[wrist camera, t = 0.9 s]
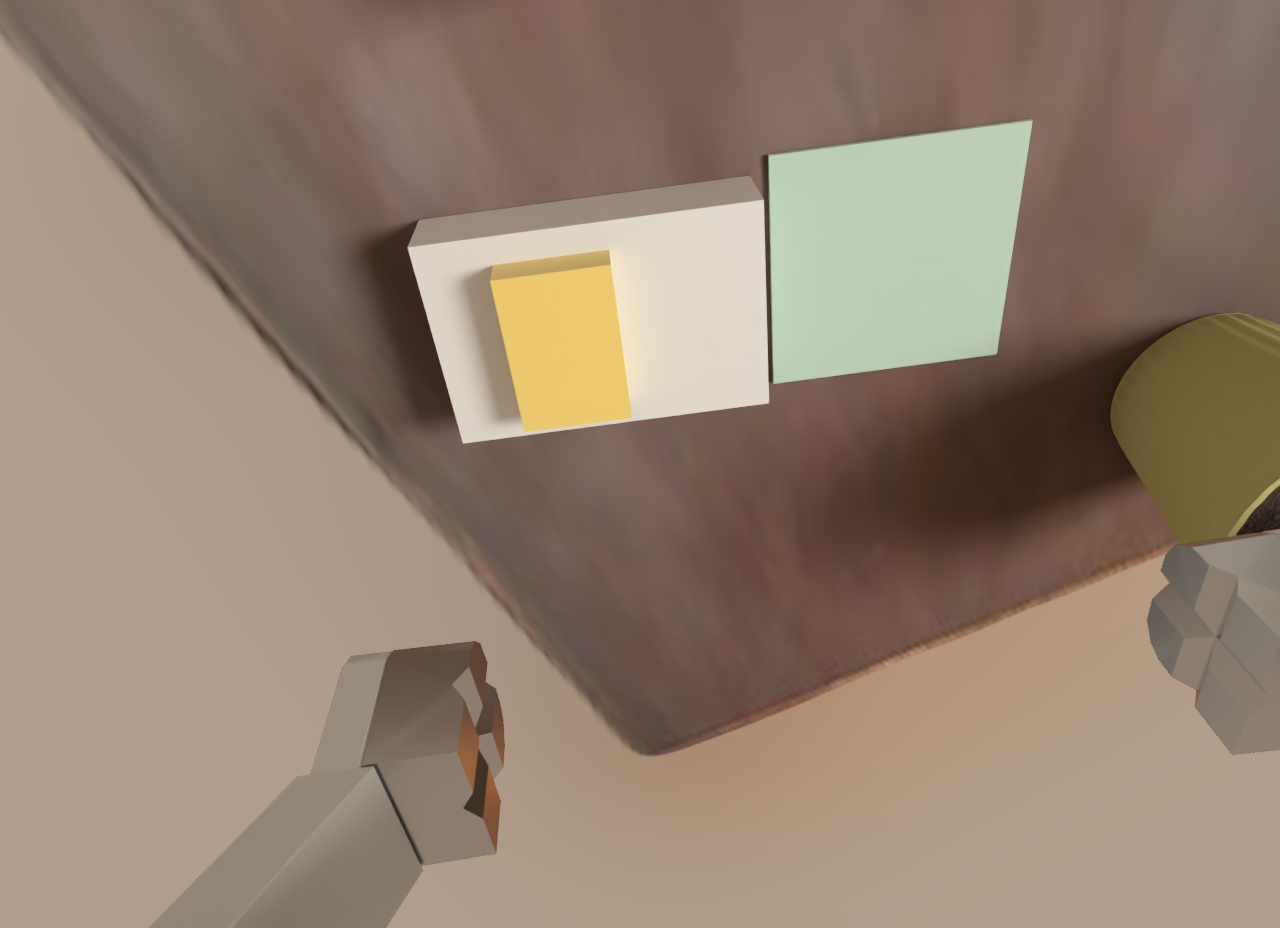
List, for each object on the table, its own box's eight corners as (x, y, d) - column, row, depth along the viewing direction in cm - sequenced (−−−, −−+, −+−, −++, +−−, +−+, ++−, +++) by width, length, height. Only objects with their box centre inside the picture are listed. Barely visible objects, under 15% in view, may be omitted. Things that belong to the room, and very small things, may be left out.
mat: (767, 154, 45) (768, 155, 45) (1030, 118, 45) (1032, 120, 45) (772, 381, 53) (773, 383, 53) (994, 351, 53) (996, 354, 53)
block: (492, 265, 43) (489, 280, 42) (609, 249, 43) (610, 264, 42) (526, 413, 48) (524, 432, 47) (629, 399, 48) (632, 417, 47)
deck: (418, 220, 46) (407, 247, 42) (749, 175, 45) (763, 199, 42) (469, 407, 53) (463, 443, 49) (756, 369, 52) (768, 403, 49)
